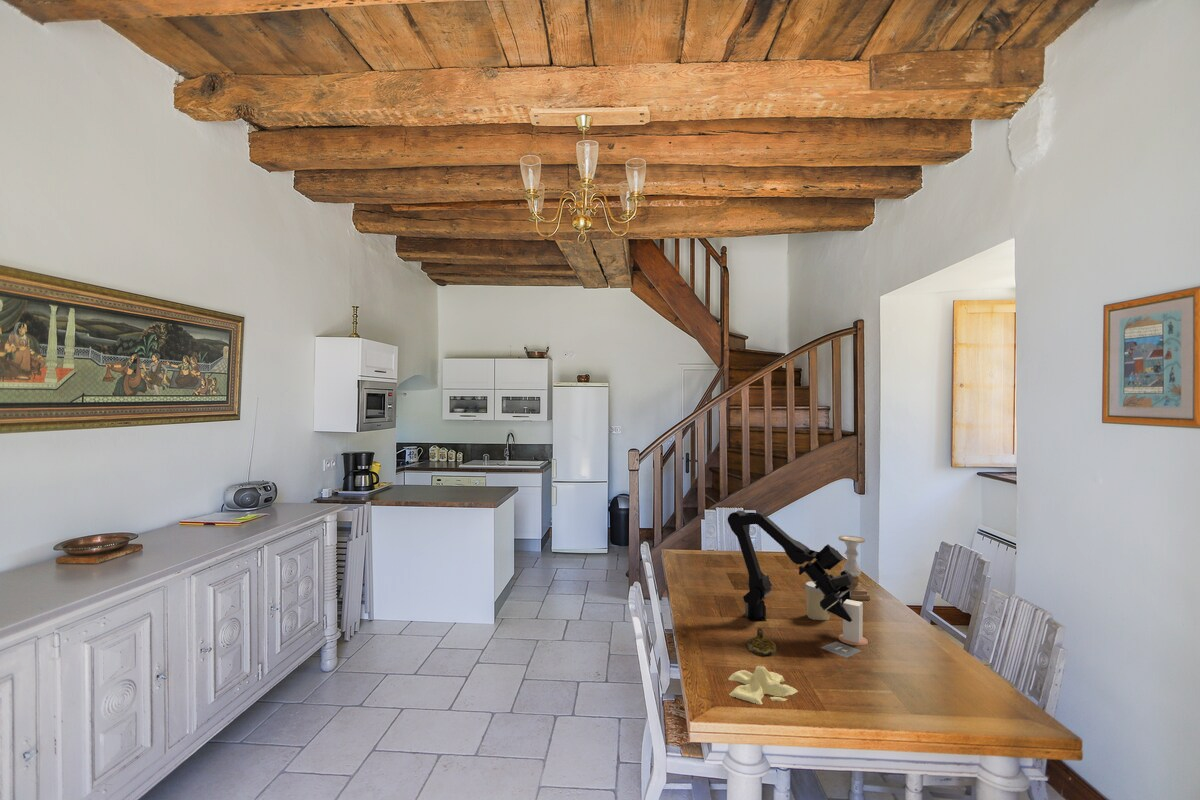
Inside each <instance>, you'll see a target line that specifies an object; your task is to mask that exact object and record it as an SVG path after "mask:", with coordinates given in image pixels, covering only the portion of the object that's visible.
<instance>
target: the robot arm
mask: <svg viewBox="0 0 1200 800" xmlns="http://www.w3.org/2000/svg"><path fill="white" fill-rule="evenodd" d="M727 523H728V526H729V527H730V529H731V532H733V534H734V535H735V536H736V538H737V541H738V544H739V547H740V552H741V554H742V556H743V560H744V563H745V568H746V570H747V573H748V583H747V585H748V592H747V593H746V594H744V595H743V597H742V599H743V602H744V603H745V605H744V606H745V607H744V608H745V612H744V613H743V616H745V618H746V619H747V620H748V621H757V622H758V621H767V618H766V617H767V606H766V604H765V601H764V600H765V599H766V597H767V596H769V595H770V594H771V592H772V583H771V581H770V576H769V575H768V574H767V575H766V574H764V573H763V572H762V570H761V567H760V564H759V560H758V558H757V555H756V550H755V548H754V544H753V541H752V538H751V535H750V526H751V525H757V526H759V528H761V529H762V530H763V531H764V532H765V533H766V534H767V535H768V536H770V538H772V539H773V540H774V541H775V542H776V543H777V544H778V545H779V546H781V548H782V549H783V550H784V552H785V554H786V555H787V557H788V558H789V560H790V561H791V562H792V563H793V564H795V565H799V566H798V575H799V576H801V575H802V574H804V573H805V574H806V575H807V576H808V577H809V579H810V580H811V581H813V582H815V581H816V582H815V583H814V584H815V585H816V586H815V588H816V589H817V588H819V589H820V591H821V592H822V593H823V594H824V595H825V596H824V599H822V600H821V601H820V606H821V607H822V609H823V610H825V609H827V608H828V607H829V608H828V609H827V610H826V611H829V612H830V614H834V615H835V616H837V617H839V618H842V620H843V619H845V620H846V621H848V622H851V621H852V619H851V617H850V616H849V614H848V613H847V611H846V610H845V609H844V607H843V603H844V602H845V601H846V600H847V599H848V600H852V598H851V591H852V589H850V588H851V586H850V585H851V584H852V583H854V581H853V579H852V575H851V574H850V573H848V572H847V571H846V570H844V571H842V570H841V571H840V575H836V576H834V575H833V574H831V573H830V574H829V573H828V572H827V571H826V570H829V571H831V570H832V569H834V568H835V567H836V566H837V565H839V564H840V563H841V562H843V561H844V558H843V556H842V554H841V552H839V551H838V550H837V549H835V547H832V546H831V545H830V544H826V545H825V546H824V547H823V548H822V549H821V550H819V551H817V550H814V549H810V548H809V547H808V546H807V545H806V544H804V543H802V542H800V541H798V540H796V539H794V538H792V536H790V535H788V534H787V533H786V532H785V531H784V530H783V529H782V528H781V527H779V526H778V525H777V524H776V523H775V522H774V521H773V520H771V518H769V517H768V516H767V514H766V513H764V512H761V511H760V512H746V511H744V510H737V511H734V512H731V513H729V515H728V516H727ZM815 559H816V560H815ZM813 560H814V561H813ZM812 561H813V562H812ZM806 562H807V563H806ZM805 563H806V564H805ZM803 564H805V565H803ZM849 589H850V590H849ZM848 590H849V591H848Z"/></svg>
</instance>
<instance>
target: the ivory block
mask: <svg viewBox="0 0 1200 800" xmlns="http://www.w3.org/2000/svg"><path fill="white" fill-rule="evenodd" d="M863 604H864V603H863V602H862V601H860V600H848V599H847V600H846V601H845V602H844V603H843V605H842V606H843V607H844V609H845V610H846V611H847V613H848V614H849V616H850V617H851V619H852V621H851V622H848V621H846V620H845V619H843V618H842V634H843V639H844V640H848V641H852V642H856V643H859V642H860V641H861V640H862V638H863V637H864V636H863V634H864V633H863V629H864V627H863V623H864V621H863V619H864V618H863V617H864V616H863V615H864V613H863V609H864V608H863V607H864V605H863Z"/></svg>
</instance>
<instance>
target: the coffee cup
mask: <svg viewBox="0 0 1200 800" xmlns="http://www.w3.org/2000/svg"><path fill="white" fill-rule="evenodd" d="M815 582H816V581H815ZM815 582H813V581H812V580H811V581H807V582H806V583H805V584H804V587H805V600H806V615H807V618H808V619H811V620H814V621H829V620H830V618H831V617H830V616H831V612H829V611H826V610H827V609H828V608H829V607H828V608H827V609H825V610H823V609H822V607H821V606H820V601H821V600H822V599H824V596H825V595H824V594H823V593H822V592H821V591H820V589H819V588H817V589H816V588H815V586H816V585H815V584H814V583H815Z"/></svg>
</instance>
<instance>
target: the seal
mask: <svg viewBox="0 0 1200 800" xmlns="http://www.w3.org/2000/svg"><path fill="white" fill-rule="evenodd" d="M746 648H747V649H748V650H749V651H750V652H752V653H754V654H755V655H758V656H761V657H767V656H773V655H775V654H776V652H777V651H778V648H777V645H776V643H775V642H774V641H773V640H771V639H770V638H768V637H765V636H764V632H763V629H762V628H761V627H758V628H757V633H756V635H755V636H753V637H751V638H749V639H748V640H747V642H746Z"/></svg>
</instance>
